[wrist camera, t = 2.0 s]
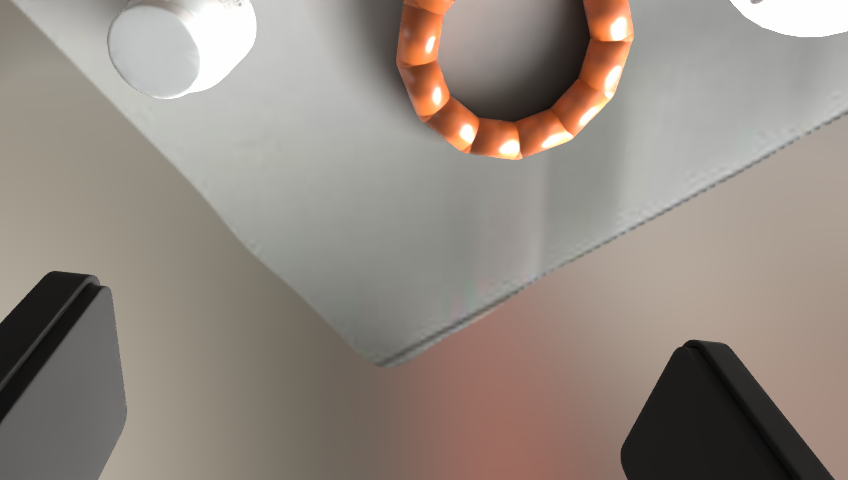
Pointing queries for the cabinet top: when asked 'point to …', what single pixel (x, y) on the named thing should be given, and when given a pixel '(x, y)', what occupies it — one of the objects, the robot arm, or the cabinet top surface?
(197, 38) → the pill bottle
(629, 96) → the cabinet top surface
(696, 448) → the robot arm
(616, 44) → the ring
